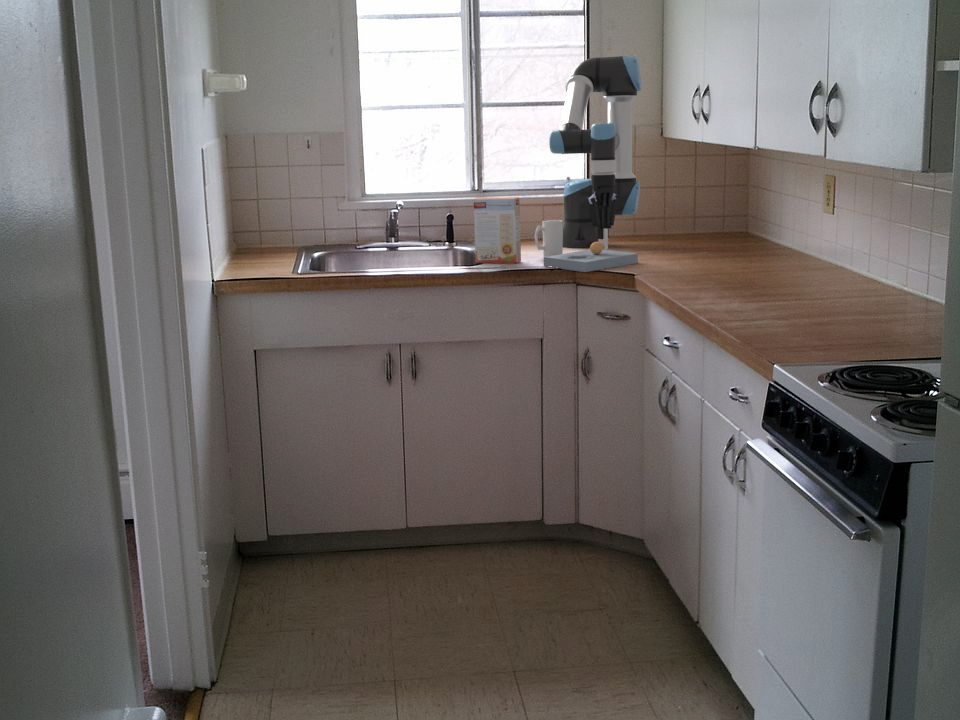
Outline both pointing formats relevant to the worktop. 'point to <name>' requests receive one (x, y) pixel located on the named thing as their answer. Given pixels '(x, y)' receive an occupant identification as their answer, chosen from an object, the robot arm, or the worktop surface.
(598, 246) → the ball
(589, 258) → the tray
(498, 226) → the cracker box
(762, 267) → the worktop surface
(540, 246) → the mug
